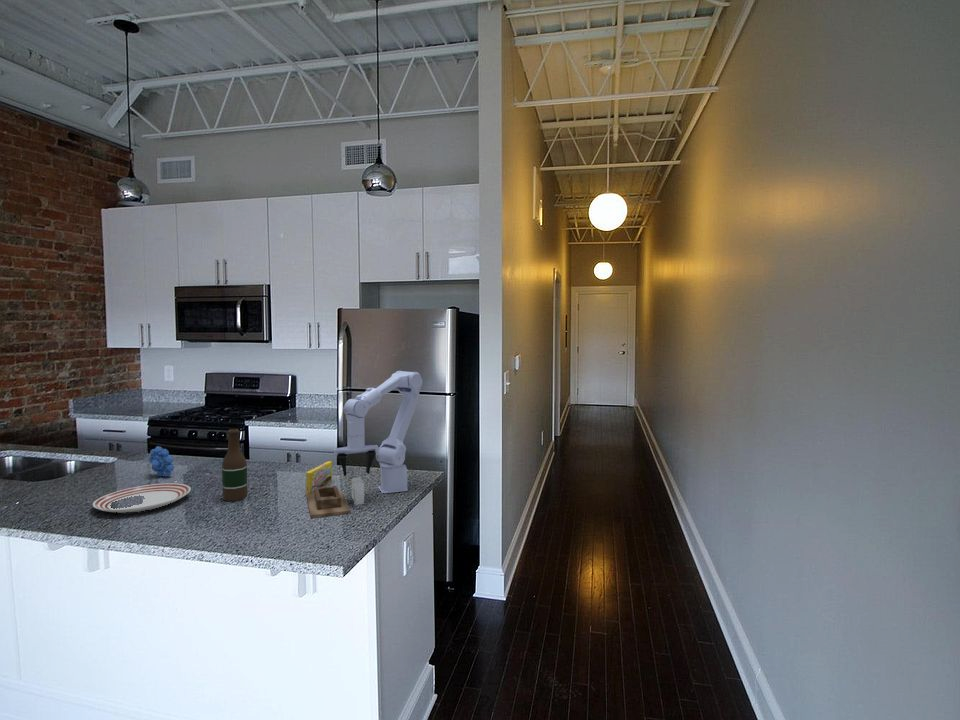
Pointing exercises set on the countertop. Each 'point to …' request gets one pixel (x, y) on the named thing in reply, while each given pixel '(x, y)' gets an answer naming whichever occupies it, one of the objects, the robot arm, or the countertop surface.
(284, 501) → the countertop surface
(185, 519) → the countertop surface
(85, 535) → the countertop surface
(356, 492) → the grey rectangular block
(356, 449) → the robot arm
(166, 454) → the grapes
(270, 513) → the countertop surface
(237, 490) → the beer bottle
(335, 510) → the walnut well stand
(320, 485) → the candy box
